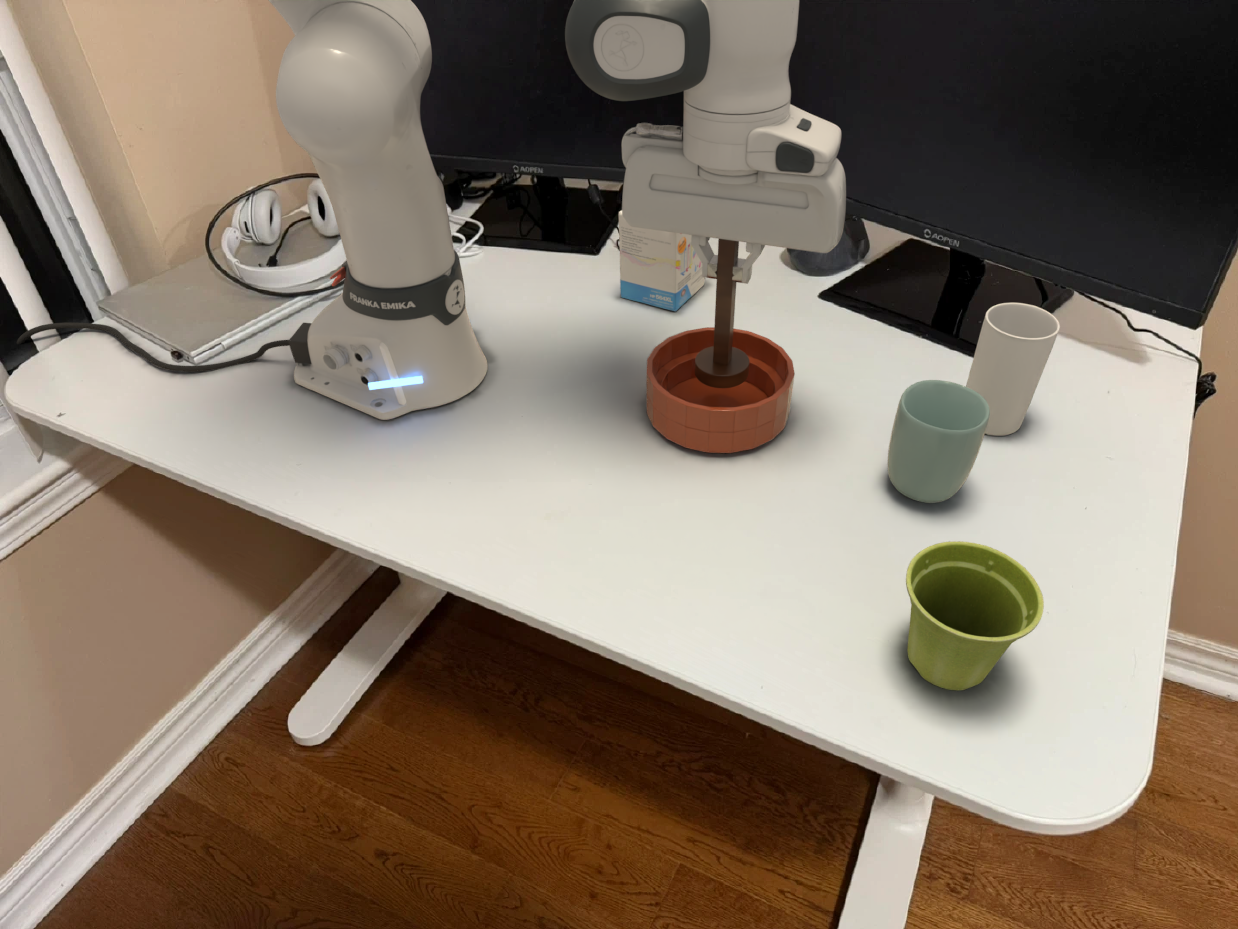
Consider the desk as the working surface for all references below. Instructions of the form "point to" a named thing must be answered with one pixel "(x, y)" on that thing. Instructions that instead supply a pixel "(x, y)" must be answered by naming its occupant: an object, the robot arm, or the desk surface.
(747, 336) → the bowl
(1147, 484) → the desk surface
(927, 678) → the plant pot
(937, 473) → the cup
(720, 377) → the brown post stand
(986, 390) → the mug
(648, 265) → the ink box
